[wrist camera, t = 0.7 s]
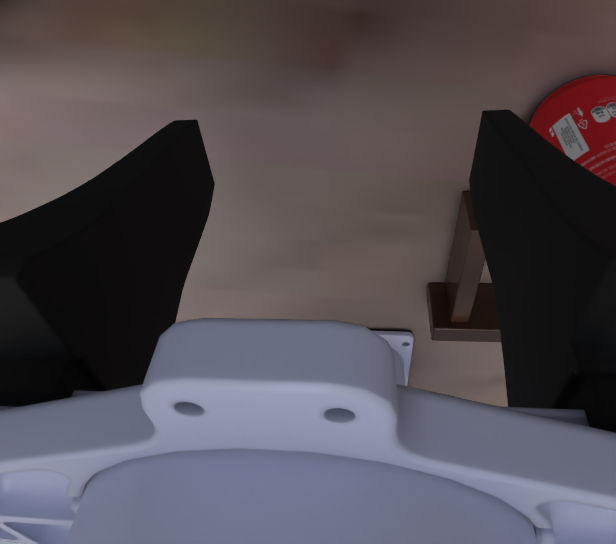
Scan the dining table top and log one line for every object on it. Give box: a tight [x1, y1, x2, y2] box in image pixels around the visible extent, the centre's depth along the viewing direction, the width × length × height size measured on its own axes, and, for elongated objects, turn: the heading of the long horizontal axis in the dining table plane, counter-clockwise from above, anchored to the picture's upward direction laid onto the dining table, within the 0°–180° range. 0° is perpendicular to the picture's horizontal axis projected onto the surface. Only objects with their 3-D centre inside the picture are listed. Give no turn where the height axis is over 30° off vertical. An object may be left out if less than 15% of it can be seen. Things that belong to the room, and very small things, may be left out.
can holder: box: [427, 191, 501, 342], centre depth 26 cm, size 8×11×4 cm
